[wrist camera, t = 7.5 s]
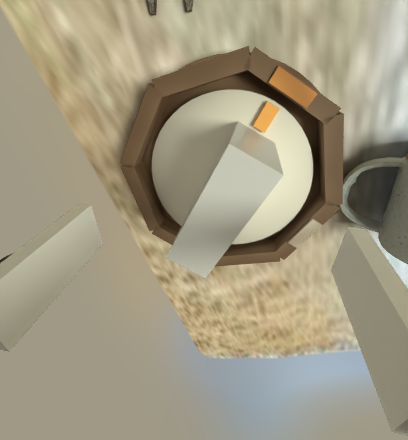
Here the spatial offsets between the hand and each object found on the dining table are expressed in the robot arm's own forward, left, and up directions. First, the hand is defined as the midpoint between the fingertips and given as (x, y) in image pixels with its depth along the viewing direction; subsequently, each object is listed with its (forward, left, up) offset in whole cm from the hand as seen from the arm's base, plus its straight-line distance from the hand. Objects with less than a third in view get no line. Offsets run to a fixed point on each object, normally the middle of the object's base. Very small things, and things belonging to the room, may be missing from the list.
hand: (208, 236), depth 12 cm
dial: (0, 0, -10) cm, 10 cm away
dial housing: (0, 0, -12) cm, 12 cm away
